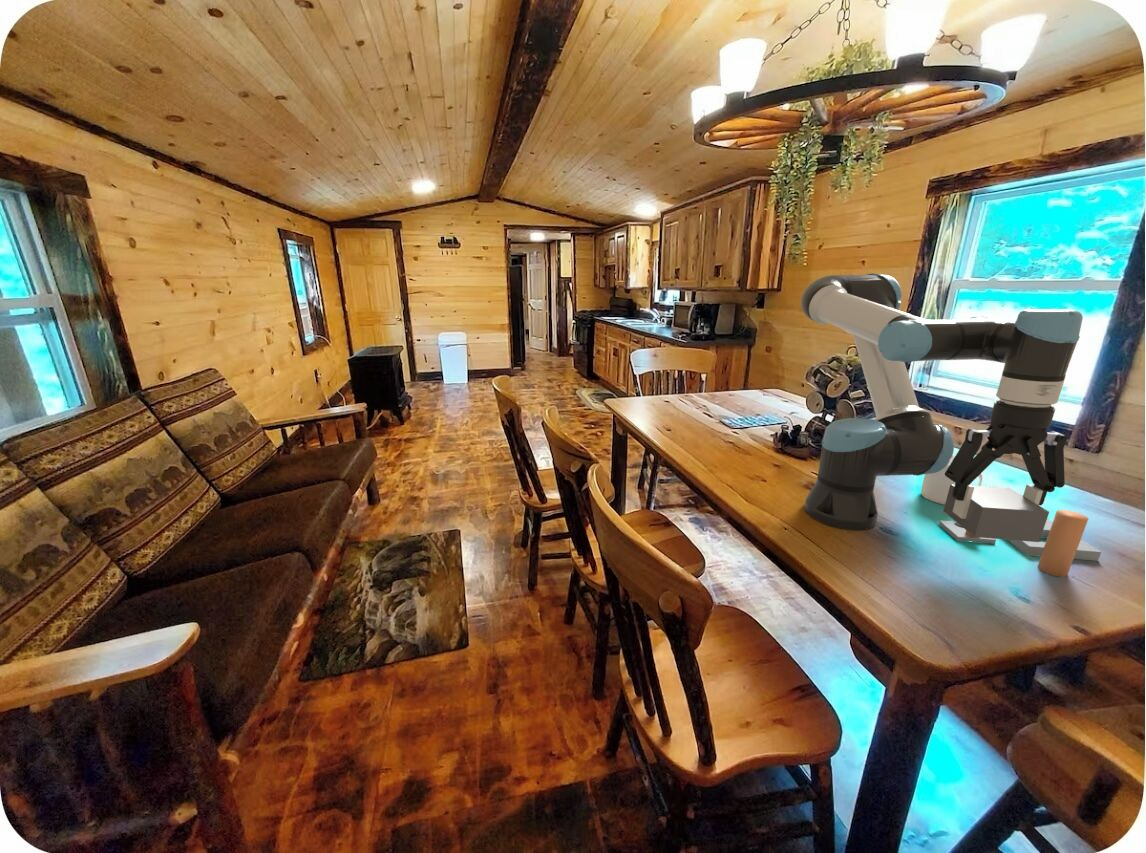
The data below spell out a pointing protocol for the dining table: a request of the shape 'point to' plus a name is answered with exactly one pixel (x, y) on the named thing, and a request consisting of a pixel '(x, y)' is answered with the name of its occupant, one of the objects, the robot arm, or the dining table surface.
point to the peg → (1062, 542)
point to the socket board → (1037, 548)
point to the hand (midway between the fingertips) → (991, 517)
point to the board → (962, 533)
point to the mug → (938, 485)
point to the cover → (1000, 514)
